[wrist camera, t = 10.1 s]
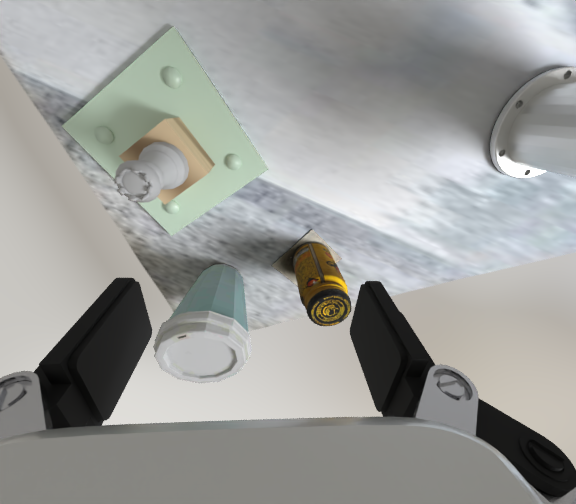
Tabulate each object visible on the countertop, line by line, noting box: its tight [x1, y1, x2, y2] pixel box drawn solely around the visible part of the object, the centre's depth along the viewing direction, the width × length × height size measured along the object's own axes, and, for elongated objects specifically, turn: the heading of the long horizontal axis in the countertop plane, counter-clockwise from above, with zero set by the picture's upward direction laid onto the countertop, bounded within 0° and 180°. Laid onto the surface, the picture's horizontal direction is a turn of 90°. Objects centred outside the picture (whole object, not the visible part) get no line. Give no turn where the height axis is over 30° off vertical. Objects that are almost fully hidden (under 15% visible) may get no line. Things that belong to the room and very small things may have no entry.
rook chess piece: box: [115, 142, 189, 203], centre depth 22 cm, size 4×4×8 cm
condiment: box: [271, 229, 351, 326], centre depth 35 cm, size 7×8×12 cm
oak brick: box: [119, 117, 215, 205], centre depth 28 cm, size 6×6×5 cm
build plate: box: [62, 26, 268, 236], centre depth 30 cm, size 16×16×1 cm
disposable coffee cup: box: [153, 264, 252, 383], centre depth 34 cm, size 11×11×15 cm
